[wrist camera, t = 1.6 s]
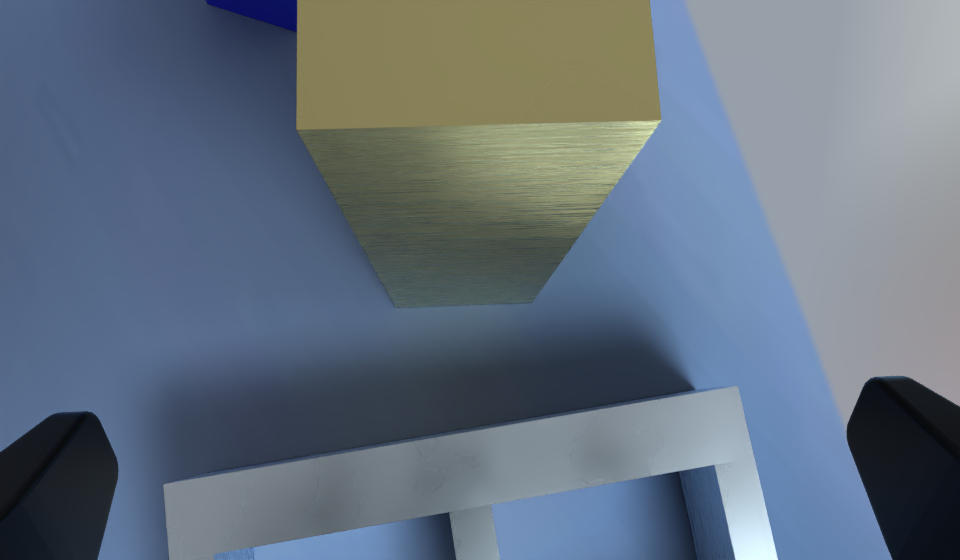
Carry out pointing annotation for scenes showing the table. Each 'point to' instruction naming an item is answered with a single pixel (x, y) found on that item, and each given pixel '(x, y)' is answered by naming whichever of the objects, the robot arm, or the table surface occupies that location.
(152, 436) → the table surface
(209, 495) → the metal frame
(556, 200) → the brass peg
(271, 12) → the cable clip
